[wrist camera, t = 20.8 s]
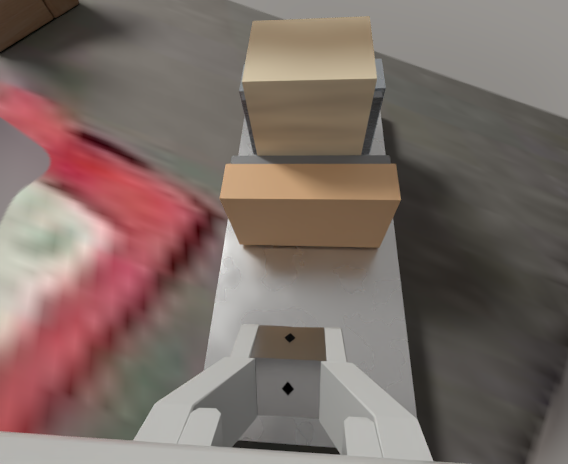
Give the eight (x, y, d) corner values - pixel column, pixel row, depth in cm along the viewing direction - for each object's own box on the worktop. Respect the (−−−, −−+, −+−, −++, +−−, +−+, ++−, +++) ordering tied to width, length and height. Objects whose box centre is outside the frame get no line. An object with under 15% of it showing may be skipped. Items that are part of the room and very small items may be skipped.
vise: (411, 449, 15) (474, 478, 9) (202, 433, 16) (142, 451, 10) (375, 114, 25) (394, 30, 20) (250, 116, 26) (233, 36, 20)
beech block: (349, 210, 20) (376, 78, 12) (268, 209, 20) (241, 81, 12) (347, 159, 21) (369, 16, 14) (273, 159, 22) (252, 20, 14)
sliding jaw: (379, 247, 18) (401, 200, 14) (239, 244, 19) (219, 198, 15) (375, 208, 19) (394, 153, 15) (245, 207, 20) (227, 154, 16)
